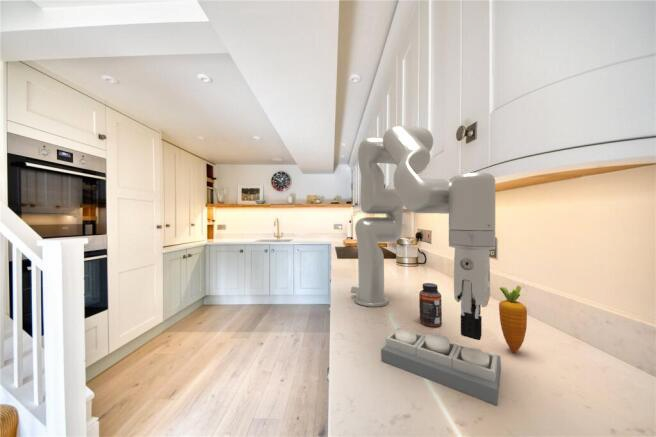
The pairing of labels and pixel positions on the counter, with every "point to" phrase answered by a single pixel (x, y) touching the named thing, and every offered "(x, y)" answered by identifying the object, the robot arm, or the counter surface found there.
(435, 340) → the button middle
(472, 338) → the robot arm
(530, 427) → the counter surface
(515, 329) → the carrot
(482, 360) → the button right
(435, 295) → the supplement bottle
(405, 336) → the button left
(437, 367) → the panel
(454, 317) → the counter surface
